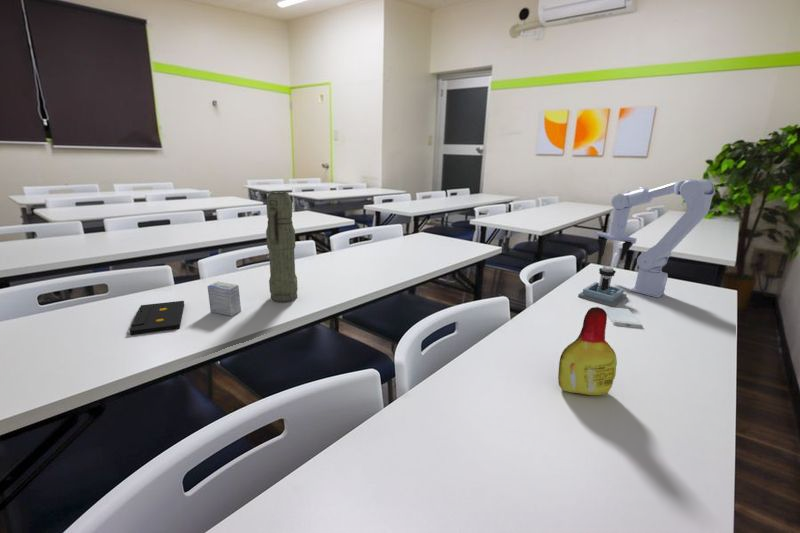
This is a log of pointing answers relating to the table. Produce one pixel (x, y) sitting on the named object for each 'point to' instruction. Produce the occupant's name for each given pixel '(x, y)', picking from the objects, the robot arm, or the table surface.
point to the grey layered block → (224, 298)
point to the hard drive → (622, 317)
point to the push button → (605, 280)
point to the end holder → (603, 295)
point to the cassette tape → (157, 317)
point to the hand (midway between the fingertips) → (611, 257)
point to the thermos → (281, 247)
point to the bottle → (588, 358)
